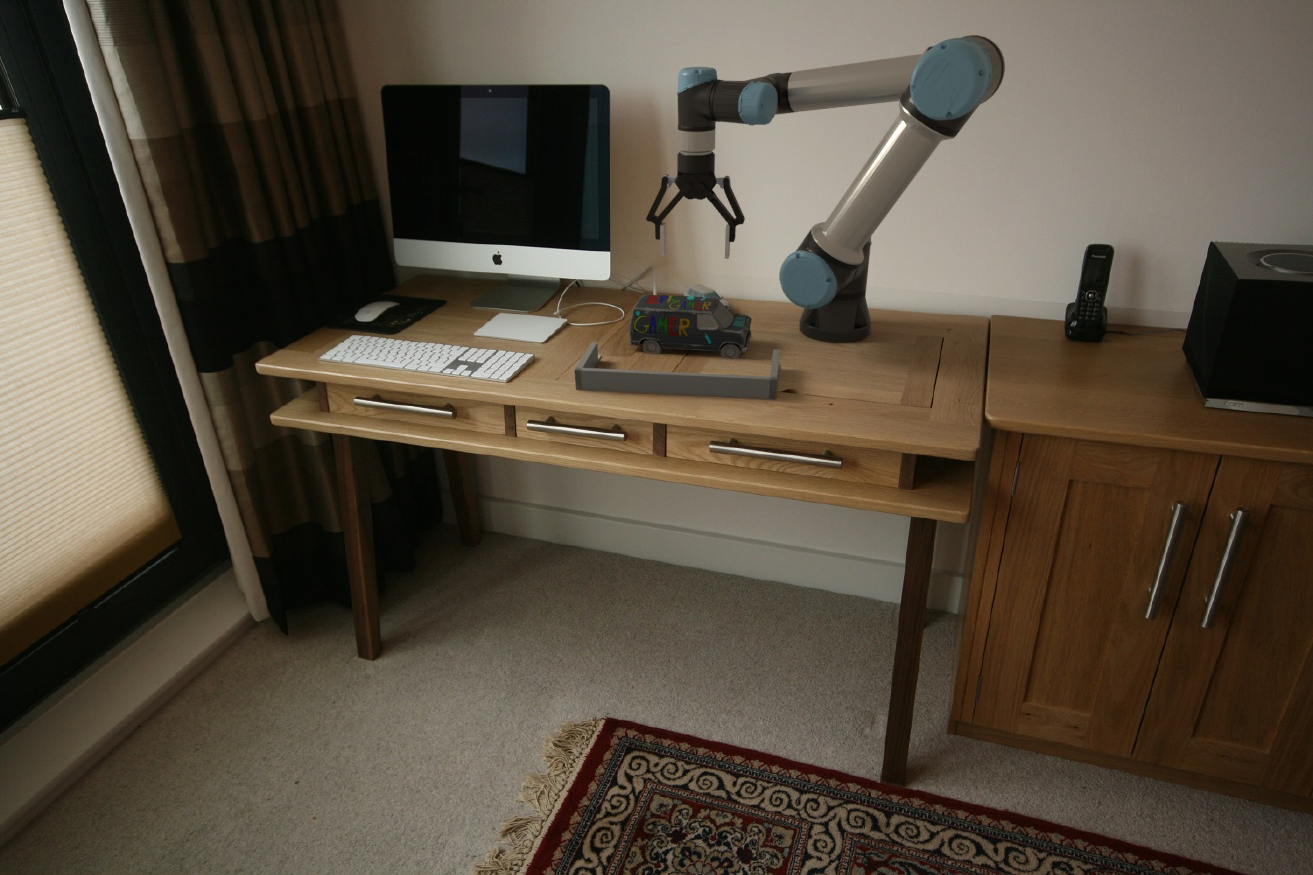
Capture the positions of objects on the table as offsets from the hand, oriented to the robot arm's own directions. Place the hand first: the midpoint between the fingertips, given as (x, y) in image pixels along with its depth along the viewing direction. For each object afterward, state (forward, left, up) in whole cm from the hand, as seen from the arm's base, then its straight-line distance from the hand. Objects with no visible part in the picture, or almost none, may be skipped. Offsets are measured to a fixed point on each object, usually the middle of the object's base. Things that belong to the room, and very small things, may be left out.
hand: (694, 256), depth 183 cm
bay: (0, +27, -16) cm, 31 cm away
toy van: (0, +10, -17) cm, 20 cm away
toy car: (-1, -12, -17) cm, 21 cm away
